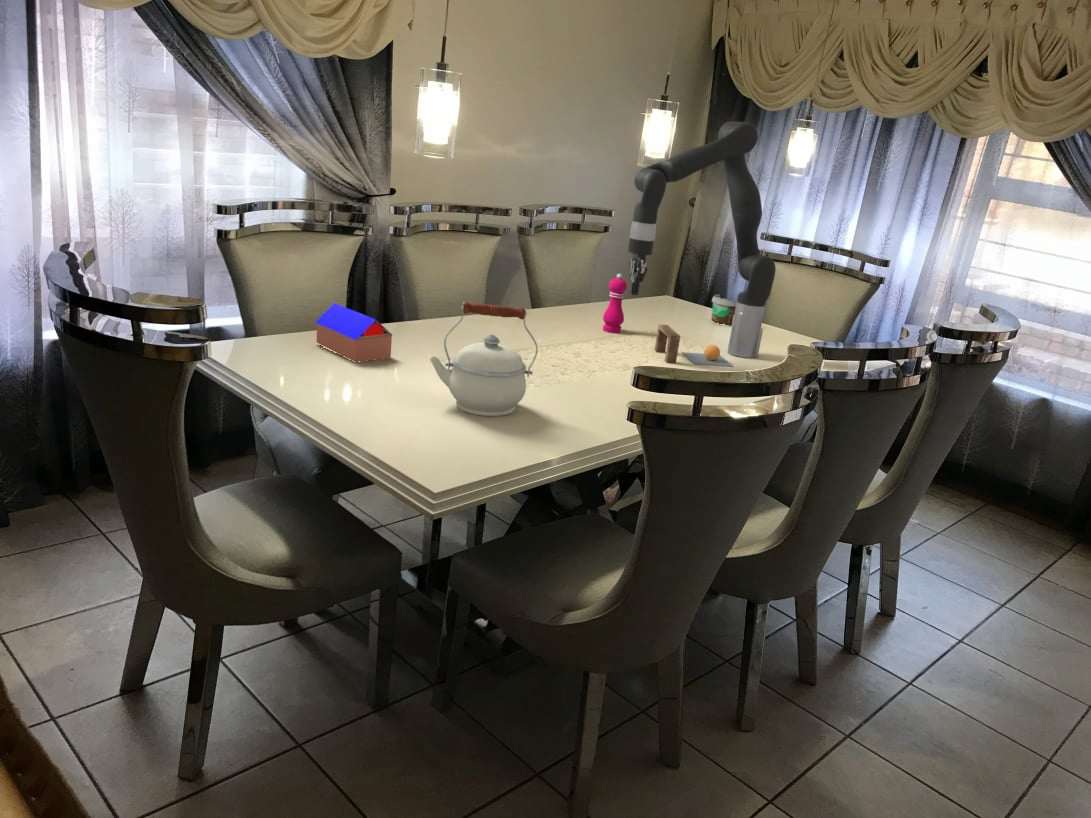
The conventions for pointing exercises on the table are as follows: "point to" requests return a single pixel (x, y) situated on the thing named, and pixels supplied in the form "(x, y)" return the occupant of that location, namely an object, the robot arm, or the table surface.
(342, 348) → the house
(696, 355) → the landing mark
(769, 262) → the robot arm
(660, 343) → the bridge
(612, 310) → the pepper mill
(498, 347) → the kettle
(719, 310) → the food container
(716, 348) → the ball
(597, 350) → the table surface
